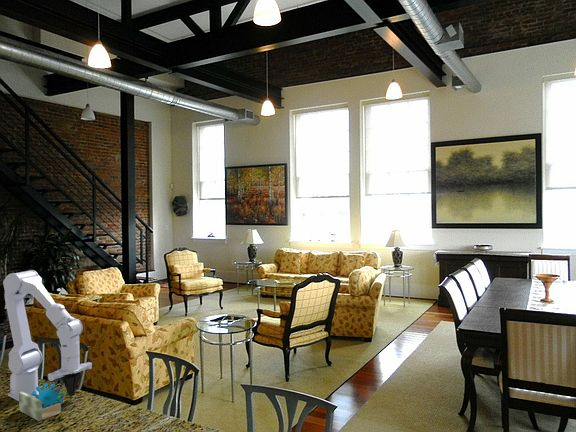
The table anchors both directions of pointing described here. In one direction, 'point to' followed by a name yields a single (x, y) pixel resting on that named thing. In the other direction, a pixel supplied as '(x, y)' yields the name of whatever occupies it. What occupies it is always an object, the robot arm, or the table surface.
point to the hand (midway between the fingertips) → (71, 394)
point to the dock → (36, 407)
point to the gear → (49, 395)
